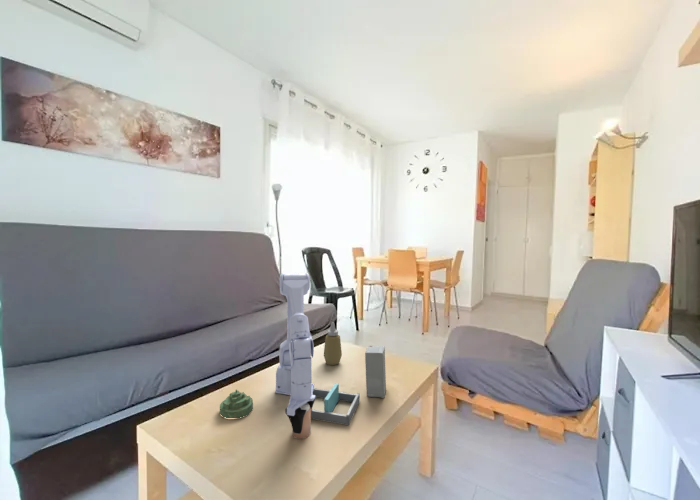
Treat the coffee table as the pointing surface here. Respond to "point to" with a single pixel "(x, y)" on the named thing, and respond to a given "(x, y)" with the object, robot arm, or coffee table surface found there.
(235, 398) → the decorative artifact
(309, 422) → the jar
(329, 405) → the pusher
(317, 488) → the coffee table surface
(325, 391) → the grey tray
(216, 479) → the coffee table surface
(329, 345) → the squeeze bottle
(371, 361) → the skincare box
